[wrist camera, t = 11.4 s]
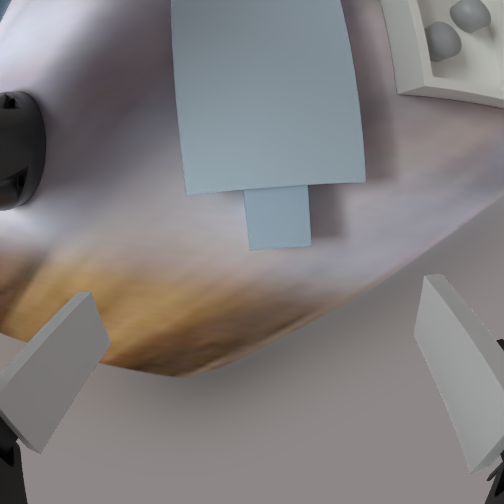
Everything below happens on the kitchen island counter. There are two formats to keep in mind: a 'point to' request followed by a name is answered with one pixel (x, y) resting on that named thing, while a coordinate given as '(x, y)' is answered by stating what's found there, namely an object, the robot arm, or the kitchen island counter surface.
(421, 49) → the tub
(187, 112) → the lid
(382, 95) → the kitchen island counter surface
